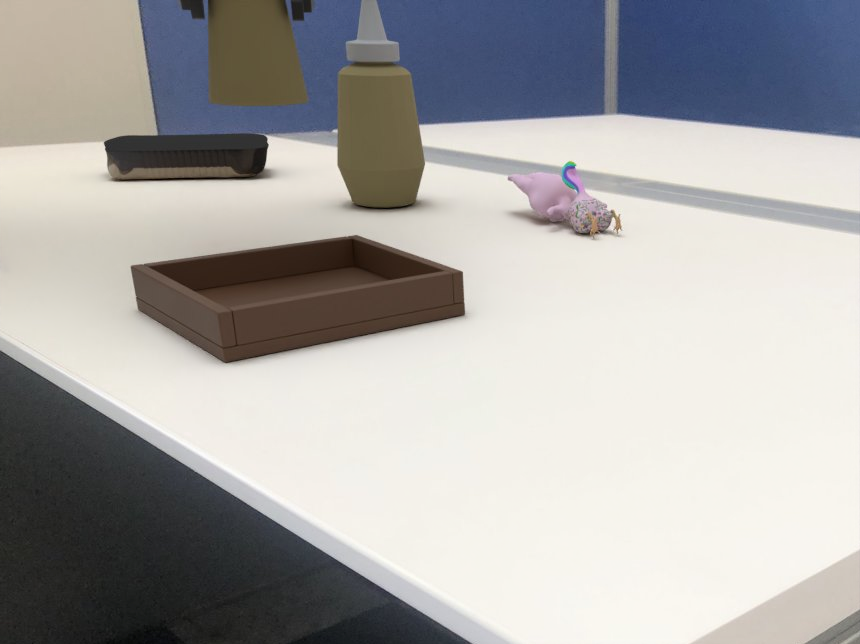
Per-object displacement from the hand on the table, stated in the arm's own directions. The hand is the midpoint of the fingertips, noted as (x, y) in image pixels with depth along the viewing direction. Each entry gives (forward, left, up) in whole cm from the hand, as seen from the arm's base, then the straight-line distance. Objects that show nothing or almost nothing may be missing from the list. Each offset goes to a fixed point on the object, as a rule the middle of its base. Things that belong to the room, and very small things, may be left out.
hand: (248, 9), depth 64 cm
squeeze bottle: (+22, +25, -18) cm, 38 cm away
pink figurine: (+30, +8, -18) cm, 36 cm away
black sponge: (+14, +53, -18) cm, 57 cm away
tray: (-1, -5, -17) cm, 18 cm away
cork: (+1, +2, -6) cm, 6 cm away
